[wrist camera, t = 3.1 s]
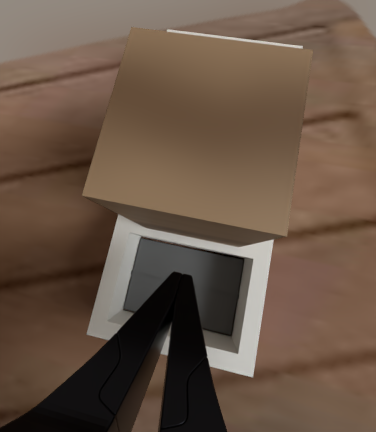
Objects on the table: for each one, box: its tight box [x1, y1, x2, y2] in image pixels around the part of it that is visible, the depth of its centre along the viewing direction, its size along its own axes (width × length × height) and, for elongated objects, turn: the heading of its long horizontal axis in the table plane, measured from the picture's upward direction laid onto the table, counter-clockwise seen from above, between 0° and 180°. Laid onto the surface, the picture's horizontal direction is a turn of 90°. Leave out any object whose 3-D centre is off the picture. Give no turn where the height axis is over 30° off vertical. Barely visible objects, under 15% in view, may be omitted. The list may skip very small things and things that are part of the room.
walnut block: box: [82, 27, 313, 247], centre depth 11 cm, size 6×6×8 cm
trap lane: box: [87, 29, 303, 377], centre depth 16 cm, size 22×10×3 cm, turn 168°
